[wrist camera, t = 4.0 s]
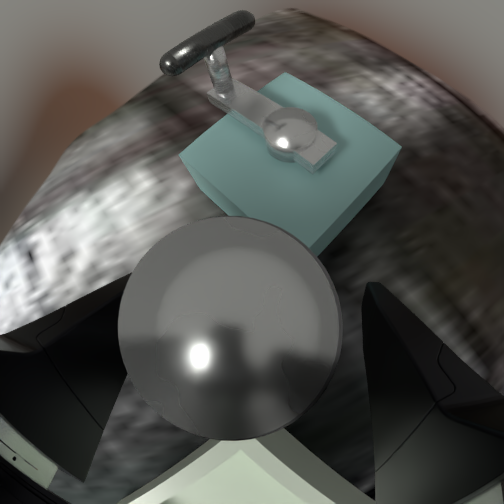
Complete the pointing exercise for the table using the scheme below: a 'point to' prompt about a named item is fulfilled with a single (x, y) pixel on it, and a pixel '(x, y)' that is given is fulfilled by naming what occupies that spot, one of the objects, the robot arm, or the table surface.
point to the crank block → (294, 168)
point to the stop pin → (230, 328)
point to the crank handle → (251, 96)
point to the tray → (250, 476)
